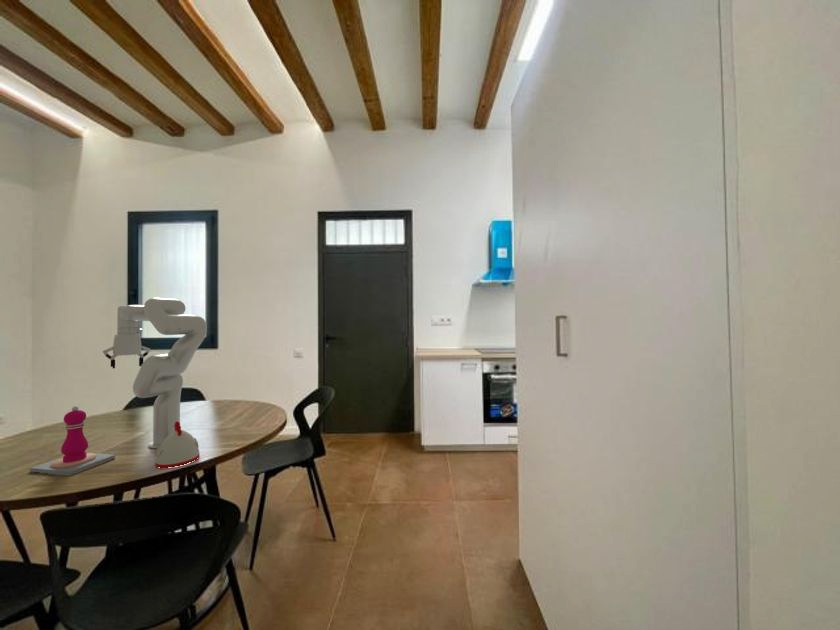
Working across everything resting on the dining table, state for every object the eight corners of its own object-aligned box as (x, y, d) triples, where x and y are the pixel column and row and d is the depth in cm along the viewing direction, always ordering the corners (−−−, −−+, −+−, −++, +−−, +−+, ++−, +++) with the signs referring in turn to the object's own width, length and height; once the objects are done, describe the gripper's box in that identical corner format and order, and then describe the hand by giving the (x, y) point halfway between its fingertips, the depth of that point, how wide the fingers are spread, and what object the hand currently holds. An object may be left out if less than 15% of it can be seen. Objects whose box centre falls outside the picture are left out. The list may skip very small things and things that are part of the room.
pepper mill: (74, 463, 123) (74, 409, 124) (55, 463, 124) (55, 409, 124) (93, 455, 131) (93, 404, 131) (75, 455, 131) (75, 404, 131)
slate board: (114, 458, 133) (114, 453, 133) (68, 476, 118) (68, 470, 118) (79, 455, 136) (79, 450, 136) (29, 472, 121) (30, 466, 121)
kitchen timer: (194, 451, 140) (194, 415, 140) (203, 460, 130) (203, 422, 130) (152, 461, 130) (152, 422, 130) (158, 472, 120) (158, 430, 120)
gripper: (149, 330, 169) (149, 364, 169) (102, 331, 157) (102, 368, 157) (151, 331, 164) (151, 366, 164) (103, 332, 152) (102, 370, 152)
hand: (127, 367), depth 160 cm, fingers open, 9 cm apart
